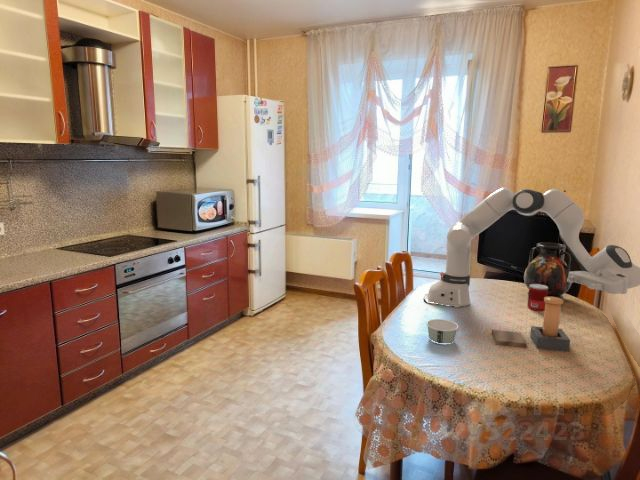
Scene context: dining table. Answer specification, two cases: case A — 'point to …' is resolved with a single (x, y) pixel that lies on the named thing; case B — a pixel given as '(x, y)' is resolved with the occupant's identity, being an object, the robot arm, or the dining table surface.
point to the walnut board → (509, 338)
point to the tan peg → (551, 316)
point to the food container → (442, 330)
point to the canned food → (537, 297)
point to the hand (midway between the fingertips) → (578, 283)
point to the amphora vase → (549, 269)
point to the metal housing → (549, 340)
